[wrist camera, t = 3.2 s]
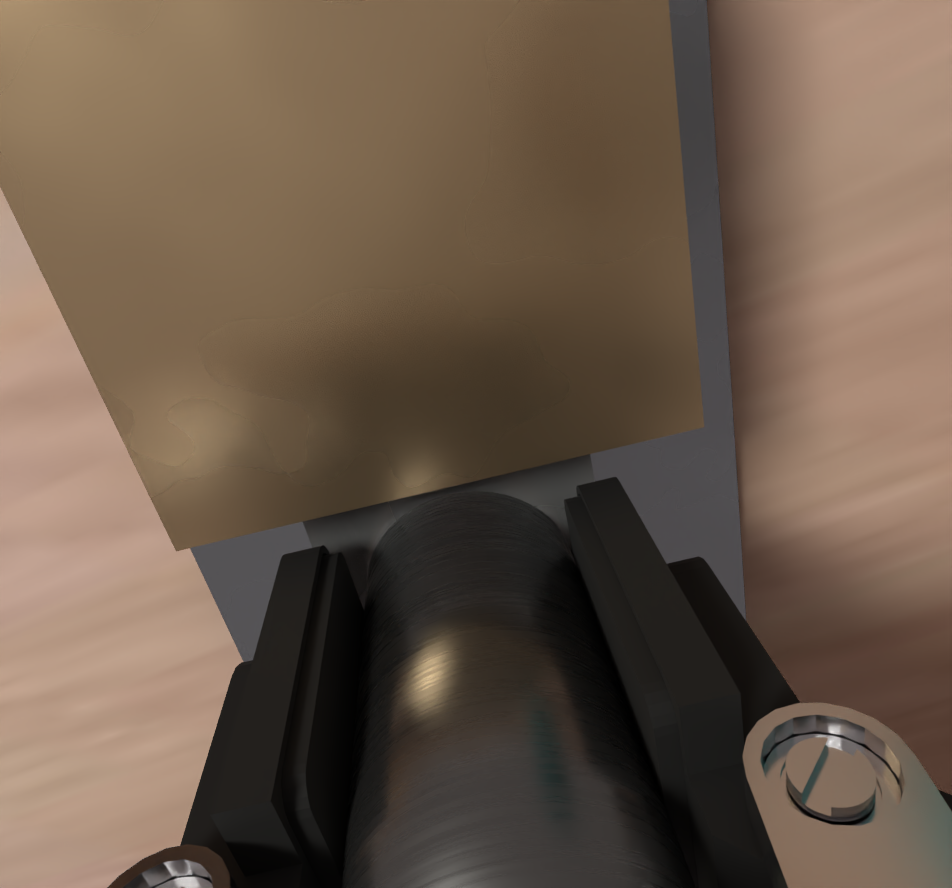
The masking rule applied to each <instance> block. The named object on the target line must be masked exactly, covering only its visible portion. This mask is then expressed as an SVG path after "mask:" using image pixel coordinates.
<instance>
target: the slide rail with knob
mask: <svg viewBox="0 0 952 888" xmlns="http://www.w3.org/2000/svg"><path fill="white" fill-rule="evenodd" d="M0 187H1V189H2V191H3V193H4V195H5V197H6V199H7V202H8V204H9V206H10V208H11V210H12V212H13V214H14V216H15V218H16V220H17V222H18V224H19V226H20V229H21V231H22V233H23V235H24V237H25V239H26V241H27V243H28V245H29V247H30V249H31V251H32V253H33V255H34V258H35V260H36V262H37V264H38V266H39V268H40V270H41V272H42V274H43V276H44V278H45V280H46V282H47V284H48V287H49V289H50V291H51V293H52V295H53V297H54V299H55V301H56V303H57V305H58V307H59V309H60V311H61V313H62V316H63V318H64V320H65V322H66V324H67V326H68V328H69V330H70V332H71V334H72V336H73V338H74V340H75V342H76V345H77V347H78V349H79V351H80V353H81V355H82V357H83V359H84V361H85V363H86V365H87V367H88V369H89V372H90V374H91V376H92V378H93V380H94V382H95V384H96V386H97V388H98V390H99V392H100V394H101V396H102V398H103V401H104V403H105V405H106V407H107V409H108V411H109V413H110V415H111V417H112V419H113V421H114V423H115V425H116V427H117V430H118V432H119V434H120V436H121V438H122V440H123V442H124V444H125V446H126V448H127V450H128V452H129V454H130V456H131V459H132V461H133V463H134V465H135V467H136V469H137V471H138V473H139V475H140V477H141V479H142V481H143V483H144V486H145V488H146V490H147V492H148V494H149V496H150V498H151V500H152V502H153V504H154V506H155V508H156V510H157V512H158V515H159V517H160V519H161V521H162V523H163V525H164V527H165V529H166V531H167V533H168V535H169V537H170V539H171V541H172V544H173V546H174V548H175V550H176V551H179V550H184V549H188V548H190V549H191V551H192V553H193V555H194V557H195V559H196V562H197V564H198V566H199V568H200V570H201V572H202V574H203V576H204V579H205V581H206V583H207V585H208V587H209V589H210V591H211V593H212V596H213V598H214V600H215V602H216V604H217V606H218V608H219V610H220V613H221V615H222V617H223V619H224V621H225V623H226V625H227V627H228V629H229V632H230V634H231V636H232V638H233V640H234V642H235V644H236V646H237V649H238V651H239V653H240V655H241V657H242V659H243V661H244V662H247V661H251V660H253V658H254V654H255V650H256V647H257V643H258V640H259V636H260V632H261V629H262V625H263V621H264V618H265V614H266V611H267V607H268V603H269V600H270V596H271V592H272V589H273V585H274V582H275V578H276V574H277V571H278V567H279V564H280V560H281V558H282V556H283V555H284V554H287V553H292V552H296V551H300V550H305V549H309V548H312V545H311V543H310V540H309V537H308V535H307V532H306V530H305V527H304V524H303V521H307V520H311V519H316V518H320V517H324V516H328V515H333V514H337V513H341V512H345V511H350V510H354V509H358V508H362V507H367V506H371V505H375V504H379V503H384V502H388V501H392V500H397V499H401V498H405V497H409V496H414V495H418V494H422V493H426V492H431V491H435V490H439V489H443V488H448V487H452V486H456V485H460V484H465V483H469V482H473V481H477V480H482V479H486V478H490V477H494V476H499V475H503V474H507V473H512V472H516V471H520V470H524V469H529V468H533V467H537V466H541V465H546V464H550V463H554V462H558V461H563V460H567V459H571V458H575V457H580V456H584V455H588V454H590V456H591V463H592V469H593V475H594V481H599V480H603V479H608V478H612V477H617V478H618V480H619V481H620V483H621V485H622V486H623V488H624V490H625V492H626V493H627V495H628V497H629V499H630V500H631V502H632V504H633V506H634V507H635V509H636V511H637V513H638V514H639V516H640V518H641V520H642V521H643V523H644V525H645V527H646V528H647V530H648V532H649V534H650V535H651V537H652V539H653V541H654V542H655V544H656V546H657V548H658V549H659V551H660V553H661V555H662V556H663V558H664V560H665V562H666V563H667V564H668V563H672V562H676V561H681V560H685V559H689V558H694V557H698V556H699V557H701V558H703V559H704V560H705V561H706V562H707V563H708V565H709V566H710V568H711V569H712V571H713V572H714V574H715V575H716V577H717V578H718V580H719V581H720V583H721V584H722V586H723V587H724V589H725V590H726V592H727V593H728V595H729V596H730V598H731V599H732V601H733V602H734V604H735V605H736V607H737V608H738V610H739V611H740V613H741V614H742V616H743V617H744V619H745V620H746V610H745V594H744V578H743V563H742V547H741V531H740V516H739V500H738V484H737V469H736V453H735V437H734V422H733V406H732V390H731V375H730V359H729V343H728V327H727V312H726V296H725V280H724V265H723V249H722V233H721V218H720V202H719V186H718V171H717V155H716V139H715V124H714V108H713V92H712V77H711V61H710V45H709V30H708V14H707V0H0Z"/></svg>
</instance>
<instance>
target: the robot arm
mask: <svg viewBox="0 0 952 888" xmlns="http://www.w3.org/2000/svg"><path fill="white" fill-rule="evenodd" d="M576 492H577V497H573V498H568V499H564V507H565V512H566V518H567V523H568V528H569V534H570V539H571V544H572V549H573V555H574V560H575V565H576V568H577V571H578V574H579V576H580V579H581V582H582V584H583V587H584V590H585V592H586V595H587V598H588V600H589V603H590V606H591V609H592V611H593V614H594V617H595V619H596V622H597V625H598V627H599V630H600V633H601V636H602V638H603V641H604V644H605V646H606V649H607V652H608V654H609V657H610V660H611V662H612V665H613V668H614V671H615V673H616V676H617V679H618V681H619V684H620V687H621V689H622V692H623V695H624V697H625V700H626V703H627V706H628V708H629V711H630V714H631V716H632V719H633V722H634V724H635V727H636V730H637V733H638V735H639V738H640V741H641V743H642V746H643V749H644V751H645V754H646V757H647V759H648V762H649V765H650V768H651V770H652V773H653V776H654V778H655V781H656V784H657V786H658V789H659V792H660V795H661V797H662V800H663V803H664V805H665V808H666V810H667V812H668V814H669V817H670V820H671V822H672V825H673V828H674V830H675V833H676V836H677V838H678V841H679V844H680V846H681V849H682V852H683V854H684V857H685V860H686V863H687V865H688V868H689V871H690V873H691V876H692V879H693V881H694V884H695V887H696V888H952V795H950V794H947V793H945V792H942V791H940V790H938V789H937V788H936V786H935V785H934V783H933V782H932V780H931V778H930V777H929V775H928V774H927V772H926V771H925V769H924V768H923V766H922V764H921V763H920V761H919V760H918V758H917V757H916V755H915V754H914V753H913V752H912V750H911V749H910V748H909V747H908V746H907V745H906V743H905V742H904V741H903V740H902V739H901V738H900V737H899V735H898V734H896V733H895V732H893V731H892V730H891V729H889V728H888V727H886V726H885V725H883V724H882V723H881V722H879V721H878V720H876V719H875V718H872V717H870V716H868V715H865V714H863V713H861V712H858V711H856V710H854V709H851V708H848V707H843V706H838V705H833V704H828V703H800V702H799V700H798V699H797V697H796V696H795V694H794V693H793V691H792V690H791V688H790V687H789V685H788V684H787V682H786V681H785V679H784V678H783V676H782V675H781V673H780V672H779V670H778V669H777V667H776V666H775V664H774V663H773V661H772V660H771V658H770V657H769V655H768V654H767V652H766V651H765V649H764V648H763V646H762V645H761V643H760V642H759V640H758V639H757V637H756V635H755V634H754V632H753V631H752V629H751V628H750V626H749V625H748V623H747V622H746V620H745V619H744V617H743V616H742V614H741V613H740V611H739V610H738V608H737V607H736V605H735V604H734V602H733V601H732V599H731V598H730V596H729V595H728V593H727V592H726V590H725V589H724V587H723V586H722V584H721V583H720V581H719V580H718V578H717V577H716V575H715V574H714V572H713V571H712V569H711V568H710V566H709V565H708V563H707V562H706V561H705V560H704V559H703V558H701V557H699V556H698V557H694V558H689V559H685V560H681V561H676V562H672V563H668V564H667V563H666V562H665V560H664V558H663V556H662V555H661V553H660V551H659V549H658V548H657V546H656V544H655V542H654V541H653V539H652V537H651V535H650V534H649V532H648V530H647V528H646V527H645V525H644V523H643V521H642V520H641V518H640V516H639V514H638V513H637V511H636V509H635V507H634V506H633V504H632V502H631V500H630V499H629V497H628V495H627V493H626V492H625V490H624V488H623V486H622V485H621V483H620V481H619V480H618V478H617V477H612V478H608V479H603V480H599V481H595V482H590V483H586V484H582V485H578V486H577V487H576ZM363 621H364V609H363V607H362V604H361V601H360V598H359V596H358V593H357V590H356V587H355V584H354V582H353V579H352V576H351V573H350V571H349V568H348V565H347V562H346V560H345V557H344V556H343V554H342V553H341V552H338V553H333V554H330V553H329V551H328V549H327V548H326V547H325V546H324V545H322V546H317V547H313V548H309V549H305V550H300V551H296V552H292V553H287V554H284V555H283V556H282V558H281V560H280V564H279V567H278V571H277V574H276V578H275V582H274V585H273V589H272V592H271V596H270V600H269V603H268V607H267V611H266V614H265V618H264V621H263V625H262V629H261V632H260V636H259V640H258V643H257V647H256V650H255V654H254V658H253V660H251V661H247V662H242V663H241V664H239V665H238V666H237V667H236V668H235V671H234V673H233V675H232V678H231V681H230V684H229V687H228V691H227V694H226V697H225V701H224V704H223V707H222V710H221V714H220V717H219V720H218V724H217V727H216V730H215V733H214V737H213V740H212V743H211V747H210V750H209V753H208V756H207V760H206V763H205V766H204V769H203V773H202V776H201V779H200V783H199V786H198V789H197V792H196V796H195V799H194V802H193V806H192V809H191V812H190V815H189V819H188V822H187V825H186V828H185V832H184V835H183V838H182V842H181V845H180V846H176V847H171V848H166V849H164V850H161V851H159V852H157V853H155V854H153V855H150V856H148V857H146V858H144V859H142V860H141V861H139V862H138V863H136V864H135V865H133V866H132V867H131V868H129V869H128V870H126V871H125V872H124V873H122V874H121V875H119V876H118V877H117V878H116V879H115V880H114V881H113V882H112V883H111V884H110V885H109V886H108V887H107V888H342V878H343V866H344V853H345V841H346V829H347V817H348V805H349V792H350V780H351V768H352V756H353V743H354V731H355V719H356V707H357V695H358V682H359V670H360V658H361V646H362V634H363Z"/></svg>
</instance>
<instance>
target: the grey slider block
mask: <svg viewBox="0 0 952 888" xmlns="http://www.w3.org/2000/svg"><path fill="white" fill-rule="evenodd" d="M590 482H595V481H594V475H593V469H592V463H591V456H590V454H588V455H584V456H580V457H575V458H571V459H567V460H563V461H558V462H554V463H550V464H546V465H541V466H537V467H533V468H529V469H524V470H520V471H516V472H512V473H507V474H503V475H499V476H494V477H490V478H486V479H482V480H477V481H473V482H469V483H465V484H460V485H456V486H452V487H448V488H443V489H439V490H435V491H431V492H426V493H422V494H418V495H414V496H409V497H405V498H401V499H397V500H392V501H388V502H384V503H379V504H375V505H371V506H367V507H362V508H358V509H354V510H350V511H345V512H341V513H337V514H333V515H328V516H324V517H320V518H316V519H311V520H307V521H303V524H304V527H305V530H306V532H307V535H308V537H309V540H310V543H311V545H312V548H313V547H317V546H322V545H324V546H325V547H326V548H327V549H328V551H329V553H330V554H333V553H338V552H341V553H342V554H343V556H344V557H345V560H346V562H347V565H348V568H349V571H350V573H351V576H352V579H353V582H354V584H355V587H356V590H357V593H358V596H359V598H360V601H361V604H362V607H363V609H364V621H363V634H362V646H361V658H360V670H359V682H358V695H357V707H356V719H355V731H354V743H353V756H352V768H351V780H350V792H349V805H348V817H347V829H346V841H345V853H344V866H343V878H342V888H696V887H695V884H694V881H693V879H692V876H691V873H690V871H689V868H688V865H687V863H686V860H685V857H684V854H683V852H682V849H681V846H680V844H679V841H678V838H677V836H676V833H675V830H674V828H673V825H672V822H671V820H670V817H669V814H668V812H667V810H666V808H665V805H664V803H663V800H662V797H661V795H660V792H659V789H658V786H657V784H656V781H655V778H654V776H653V773H652V770H651V768H650V765H649V762H648V759H647V757H646V754H645V751H644V749H643V746H642V743H641V741H640V738H639V735H638V733H637V730H636V727H635V724H634V722H633V719H632V716H631V714H630V711H629V708H628V706H627V703H626V700H625V697H624V695H623V692H622V689H621V687H620V684H619V681H618V679H617V676H616V673H615V671H614V668H613V665H612V662H611V660H610V657H609V654H608V652H607V649H606V646H605V644H604V641H603V638H602V636H601V633H600V630H599V627H598V625H597V622H596V619H595V617H594V614H593V611H592V609H591V606H590V603H589V600H588V598H587V595H586V592H585V590H584V587H583V584H582V582H581V579H580V576H579V574H578V571H577V568H576V565H575V560H574V555H573V549H572V544H571V539H570V534H569V528H568V523H567V518H566V512H565V507H564V499H568V498H573V497H577V492H576V487H577V486H578V485H582V484H586V483H590Z"/></svg>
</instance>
